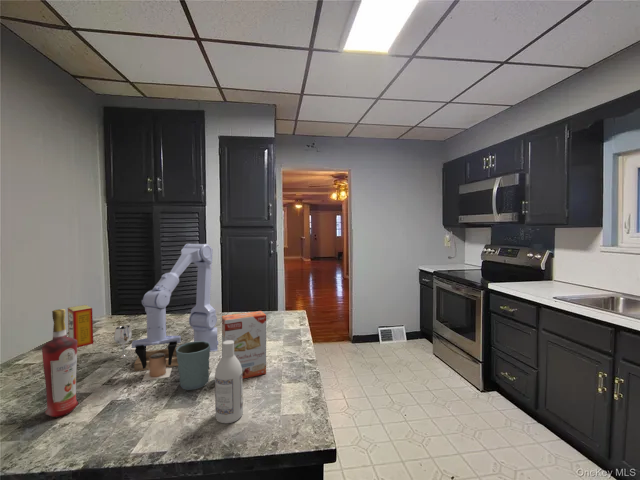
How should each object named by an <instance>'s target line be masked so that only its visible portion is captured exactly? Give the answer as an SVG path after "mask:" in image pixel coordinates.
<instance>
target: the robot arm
mask: <svg viewBox="0 0 640 480" xmlns="http://www.w3.org/2000/svg"><path fill="white" fill-rule="evenodd" d="M213 253H214V251H213V248H212V247H211V246H210V244H208V243H186V244H185V245H184V246H183V247H182V249H181V250H180V256H179V257H178V259H177V260H176V262H175V263H174V265H173V266H172V268H171V269H170V271H169V272H165V273H164V274H162V275H161V278H160V279H159V280H158V282H157V283H156V284H155V285H154V287H152V289H150V290H148V291H147V292H146V293H145V294H144V295H143V297H142V299H141V305H142V306H143V308H144V312H145V313H146V337H145V338H139V339H134V340H132V342H131V349H135V350H134V352H135V354H136V355H137V358H138V357H139V359H140V361H141V363H142V366H143V369H144V368H146V365H147V362H146V351H147V347H149V346H159V345H166V344H168V346H167V349H168V353H169V359H168V365H171V362H172V356H173V352H174V350H175V348H177V345H178V344H180V343H181V335H167V313H166V311H167V309H166V307H167V306H168V305H169V304H170V301H171V297H172V293H173V292H174V290H175V289H176V287H177V286H178V284H179V283H180V277H181V275H182V274H183V273H184V271H185V270H187V268H188V267H189V266H190V264H194V265H195V266H196V267H197V276H196V277H197V278H196V279H197V280H196V281H197V282H196V296H195V297H196V299H195V301H196V302H195V305H194V306H193V307H192V308H191V309H190V315H189V317H188V324H189V326H190V327H191V329H192V330H193V342H194V341H205V342H208V343H210V353H211V352H217V351H218V349H219V348H218V346H219V340H218V327H216V324H217V323H218V322H217V321H218V317H217V313H216V312H217V311H216V309H215V308H214V306H212V305H211V291H212V290H211V287H212V270H213V269H212V266H213V265H212V264H213Z"/></svg>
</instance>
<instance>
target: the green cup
mask: <svg viewBox="0 0 640 480" xmlns="http://www.w3.org/2000/svg"><path fill="white" fill-rule="evenodd" d="M176 348H177V349H176V355H177V362H178V365H179V366H177V367H178V368H177V369H178V375H179V386H180V387H181V388H182V389H183V390H186V391H187V390H189V391H190V390H196V389H200V388H202V387H204V386H206V385H207V384H208V383H209V380H210V371H209V369H210V356H211V355H210V354H211V352H210V343H208V342H205V341H194V340H193V341H189V342H185V343H183V344H181V345H179V346H176Z"/></svg>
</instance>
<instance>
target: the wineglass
mask: <svg viewBox="0 0 640 480" xmlns="http://www.w3.org/2000/svg"><path fill="white" fill-rule="evenodd" d="M132 336H133V333H132V329H131V326H130V325H121V326H120V325H119V326H117V327H115V328H114V334H113V339H114V342H115V343H116V344H118V345H121V348H122V355H121V356H120V357H119V358H120V359H125V358H128V355H126V354H125V347H126V345H125V344H127V343H129V342H130V341H131V340H132V338H133V337H132Z"/></svg>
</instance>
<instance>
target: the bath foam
mask: <svg viewBox="0 0 640 480" xmlns="http://www.w3.org/2000/svg"><path fill="white" fill-rule="evenodd" d="M243 388H244V387H243V379H242V367H241V364H240V362H239V360H238V359H237V358H236V356H235V355H234V341H232V340H227V341H224V342H223V357H222V356H221V358H220V360H219V361H218V363H217V365H216V367H215V372H214V398H215V399H214V400H215V401H214V402H215V404H214V405H215V419H216V421H217V422H219V423H222V424H231V423H234V422H236V421H238V420H240V419H241V418H242V415H243V412H244V410H243V409H244V407H243V406H244V405H243V403H244V402H243V401H244V398H243V397H244V395H243V394H244V392H243Z"/></svg>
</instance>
